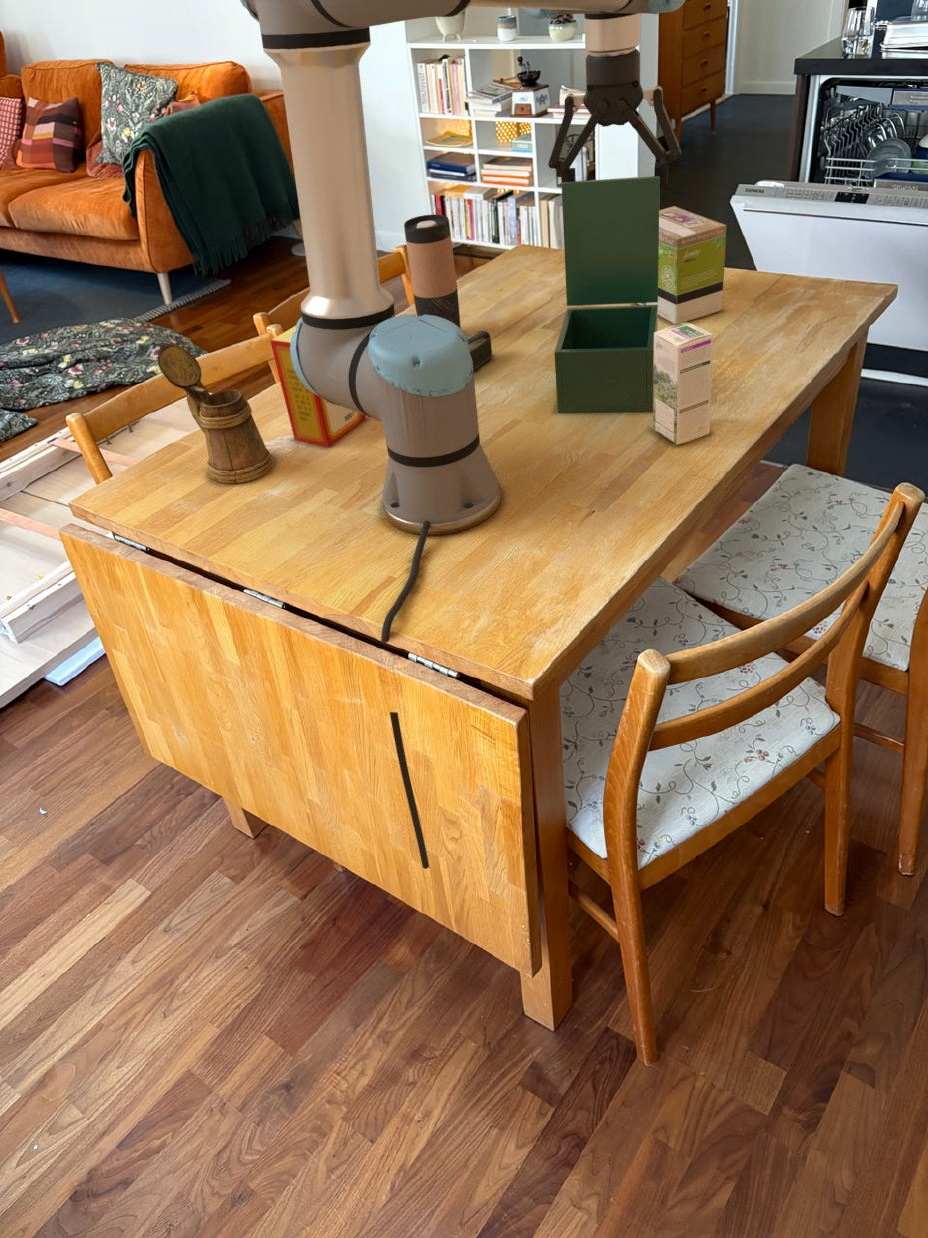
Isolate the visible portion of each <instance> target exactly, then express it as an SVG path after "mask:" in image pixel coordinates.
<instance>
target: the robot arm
mask: <svg viewBox="0 0 928 1238" xmlns="http://www.w3.org/2000/svg"><path fill="white" fill-rule="evenodd" d="M239 1H240V4H241V5H242V7H243V8H245V9H246V10H247V11H248V13H249V15H250V17H252V18H253V19H254V20H255V21H256V22H258V24H259V30H260V36H261V44H262V51H263V53H264V54H265V55H267V56H268V57H269V58H270V59H271V60H272V61H273V62H274V63H275V64H276V65H277V66H278V68H279V71H280V78H281V84H282V92H283V99H284V107H285V114H286V115H285V116H286V122H287V128H288V137H289V143H290V152H291V158H292V165H293V166H292V167H293V173H294V180H295V187H296V194H297V201H298V202H297V203H298V208H299V216H300V217H299V218H300V223H301V224H300V225H301V231H302V237H303V238H302V239H303V244H304V252H305V261H306V267H307V274H308V282H309V289H310V290H309V292H308V293H307V295H306V296H305V297H304V299H303V300H302V302H300V314H301V317H300V318H299V319H298V320H297V322H296V324H295V326H297V330H296V331H295V332H294V333H292V337H291V343H290V354H291V361H292V364H293V368H294V370H295V373H296V375H297V376H298V378H299V380H300V381H301V382H302V384H303V385H304V386H305V387H306V388H307V389H308V390H310V391H311V392H313V393H314V394H316V395H318V396H319V397H320V398H322V399H324V400H326V401H327V402H329V403H332V404H335V405H339V406H343V407H345V408H348V409H350V410H353V411H356V412H358V413H361V414H363V415H365V416H366V417H368V418H371V419H373V420H376V421H378V422H380V423H381V425H382V427H383V428H382V429H383V433H384V440H385V444H386V451H387V456H388V460H387V465H386V471H385V477H384V483H383V489H382V499H381V502H382V507H383V513H384V517H385V518H386V520H387V521H388V522H389V523H390V524H391V525H392V526H394V527H395V528H397V529H399V530H401V531H404V532H407V533H411V534H416V535H419V536H418V539H417V543H416V546H415V550H414V554H413V558H412V563H411V568H410V573H409V575H408V579H407V581H406V583H405V585H404V587H403V589H402V590H401V591H400V592H399V593H400V594H399V595H398V596H397V598H396V600H395V602H394V603H393V605H392V607H391V608H390V609H389V611H388V612H387V613H386V616H385V618H384V621H383V625H382V629H381V637H380V638H381V639H380V641H381V643H382V644H386V643H388V642H389V640H390V637H391V636H390V635H391V628H392V626H393V625H392V624H393V621H394V620H395V617H396V616H397V614H398V613H399V611H400V610H401V608H402V607H403V605H404V603H405V601H406V600H407V598H408V596H409V594H410V593H411V591H412V590H413V588H414V586H415V584H416V581H417V578H418V574H419V572H420V571H419V570H420V563H421V559H422V555H423V551H424V548H425V545H426V541H427V538H428V535H429V536H434V535H446V534H453V533H457V532H461V531H464V530H467V529H470V528H473V527H475V526H477V525H479V524H480V523H482V522H484V521H485V520H487V519H488V518H489V517H491V516H492V515H493V514H494V513H495V512H496V510H497V509H498V507H499V505H500V503H501V491H500V490H501V489H500V483H499V480H498V478H497V475H496V473H495V471H494V469H493V467H492V464H491V463H490V461H489V459H488V456H487V454H486V453H485V450H484V449H483V446H482V443H481V438H480V431H479V430H480V429H479V417H478V407H477V396H476V387H475V386H476V385H475V376H474V375H475V374H474V371H473V361H472V358H471V356H470V351H469V346H468V341H467V338H468V337H467V336H466V334H465V333H464V331H463V330H462V328H461V329H460V328H459V327H458V326H457V325H455V324H454V323H452V322H451V321H449V320H446V319H444V318H441V317H437V316H433V315H425V314H424V315H423V316H417V313H412V314H401V315H397V316H396V310H395V300H394V296H393V295H392V294H391V293H390V292H389V291H388V290H387V289H385V287H383V286H382V285H381V280H380V271H379V260H378V249H377V239H376V232H375V231H376V230H375V229H376V228H375V220H374V219H375V217H374V209H373V208H374V207H373V199H372V188H371V178H370V168H369V157H368V147H367V136H366V125H365V114H364V106H363V93H362V85H361V75H360V74H361V73H360V61H361V59H362V58H363V57H364V55H365V53H366V52H367V51H368V49H369V48H370V47H371V45H372V42H371V31H370V30H371V27H375V26H381V25H382V26H383V25H387V24H392V23H398V22H404V21H409V20H410V21H411V20H417V19H418V20H419V19H424V18H452V17H457V16H459V15H461V14H462V13H464V12H465V11H466V10H467V9H468V7H475V8H476V7H478V8H479V7H480V8H505V9H507V8H508V9H523V11H524V12H525V13H526V14H527V15H528V16H529V17H531V18H532V19H536V20H542V19H543V20H544V19H555V18H557V17H559V16H562V15H584V18H583V19H584V21H583V22H584V48H585V51H586V52H587V53H588V52H589V54H587V56H586V57H585V76H586V77H585V85H586V87H585V93H584V94H581V95H579V94H578V95H577V94H576V95H575V94H574V93H571V92H570V93H568V94H567V95H566V96H565V99H564V111H563V112H564V115H563V118H562V121H561V124H560V127H559V130H558V132H557V136H556V138H555V142H554V145H553V148H552V151H551V154H550V157H549V160H548V164H547V165H548V167H549V168H550V169H555V170H558V171H559V172H560V177H561V179H560V180H561V183H562V182H576V181H577V179H576V178H577V177H576V167H572V165H573V164H574V162H575V160H576V158H577V157H578V155H579V153H580V152H581V150H582V149H583V147H584V145H585V144H586V143H587V141H588V139H589V138H590V136H591V134H592V133H593V131H594V130H595V128H596V127H597V125H599V126H601V127H602V128H605V127H610V126H612V125H613V126H625V124H627V123H629V125H631V127H632V128H633V129H634V130H635V131H636V133H637V134H638V135H639V137H640V139H641V140H642V141H643V142H644V144H645V145H646V146H647V148H648V150H649V151H650V152H651V153H652V155H653V156H654V158H655V159H656V160H657V161H656V162H654V171H653V173H654V176H660V189H666V188H667V187H668V184H669V165H670V163H672V162H674V161H677V160H679V159H681V155H682V149H681V147H680V144H679V141H678V138H677V136H676V134H675V131H674V128H673V125H672V122H671V120H670V117H669V115H668V112H667V110H666V107H665V105H664V98H663V97H664V95H663V94H664V93H663V87H662V85H656V86H655V87H654V88H648V89H643V88H642V85H641V52H640V51H639V49H637V48H638V47H639V45H640V44H641V14H647V15H648V14H649V15H659V14H662V13H672V12H675V11H677V10H679V9H680V8H681V7H682V6H683V5H684V4H685V2H686V0H239ZM643 100H646V101H647V104H648V106H650V107H653V111H654V114H655V116H656V119H657V122H658V125H659V126H660V129H661V131H662V134H663V136H664V139H665V142H666V144H667V147H668V151H666V150H665V148H664V147H663V145H662V144H661V143H660V141H659V140H658V139H657V137H656V136H655V134H654V133H653V131H651V129H650V128H649V125H648V124H647V123H646V122H645V121H644V119H643V117H642V115H641V114H640V113H639V111H638V110H637V109H638V108H639V106H640V105H641V103H642V102H643ZM582 105H583V106H584V107H585V108H586V109H587V111H588V112H589V114H590V117H589V118H588V120H587V121H586V123H585V125H584V127H583V128H582V130H581V132H580V133H579V135H578V136H577V138H576V140H575V141H574V143H573V145H572V146H571V148H570V149H569V151H568V152H567V154H566V156H565V158H564V159H562V158H560V157H561V153H562V150H563V148H564V145H565V142H566V139H567V136H568V133H569V130H570V127H571V124H572V121H573V118H574V114H575V113H577V112H578V111H579V110H580V107H581V106H582ZM659 210H661V192H660V193H659ZM389 715H390V716H389V717H390V722H391V728H392V733H393V739H394V745H395V749H396V754H397V760H398V764H399V765H398V766H399V769H400V774H401V779H402V782H403V786H404V791H405V796H406V800H407V804H408V808H409V812H410V816H411V817H410V818H411V821H412V825H413V830H414V833H415V839H416V842H417V847H418V852H419V857H420V860H421V866H422V868H423V869H424V870H427V869H429V868H430V863H429V858H428V854H427V848H426V844H425V840H424V834H423V830H422V825H421V820H420V816H419V813H418V812H419V811H418V807H417V803H416V799H415V798H416V797H415V794H414V790H413V786H412V781H411V776H410V771H409V768H408V762H407V757H406V752H405V748H404V741H403V736H402V730H401V724H400V718H399V712H397V711H395V712H393V711H389Z"/></svg>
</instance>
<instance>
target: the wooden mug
mask: <svg viewBox="0 0 928 1238" xmlns="http://www.w3.org/2000/svg"><path fill="white" fill-rule="evenodd" d="M157 365H158V368H159V370H160V371H161V373H162V375H163V376H164V377H165V378H166V380H167V381H168V383H170V384H171V385H173V386H174V387H176V388H178V389H182V390H183V391H185V393H186V402H187V406H188V409H189V412H190V413H191V415H192V417H193V419H194V421H195V422H196V424H197V426H198V427H199V428H200V430H201V432H203V434H204V435H205V436H204V437H205V442H206V443H205V444H206V448H207V455H208V460H207V461H206V462H207V467H208V468H207V469H208V473H209V476H210V477H211V478H212V479H213V480H214V481H216V482H219V483H221V484H241V483H245V482H249V481H252V480H256V479H258V478H259V477H262V476H263V475H265V474H266V473H268V472H269V471H270V470H271V469H272V467H273V465H274V460H273V459H274V458H273V456H272V455H271V452H270V451H269V449H268V448H267V447H266V444H265V442H264V440H263V438H262V436H261V433H260V431H259V428H258V426H257V424H256V422H255V419H254V416H253V415H252V411H253V410H252V407H251V405H250V403H249V401H248V399H246V398H245V396H244V394H243V392H242V391H241V390H239V389H236V388H227V389H223V390H219V391H216V392H213V393H211V394H210V393H209V390H208V389H207V388H206V386H204V384H203V383H202V381H201V379H202V368H201V366H200V364H199V362H198V360H197V359H196V358H195V356H194V355H193V354H192V353H191V352H190V351H188V350H187V348H184V347H182V346H180V345H178V344H173V343H164V342H161V344H160V347H159V351H158V354H157Z"/></svg>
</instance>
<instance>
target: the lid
mask: <svg viewBox="0 0 928 1238" xmlns="http://www.w3.org/2000/svg"><path fill="white" fill-rule="evenodd" d="M659 193H660V194H661V188H660V176H653V175H651V176H639V177H637V176H636V177H635V176H633V177H622V178H621V177H619V178H606V179H605V178H604V179H592V180H591V179H590V180H578V181H577V180H576V182H562V181H561V203H562V206H561V207H562V227H563V249H564V250H563V251H564V271H565V272H564V273H565V288H566V289H565V291H566V292H565V294H566V306H567V307H570V306H571V307H573V306H574V307H575V306H600V305H621V304H622V305H625V304H637V303H654V302H658V263H659Z"/></svg>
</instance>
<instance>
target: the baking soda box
mask: <svg viewBox="0 0 928 1238" xmlns="http://www.w3.org/2000/svg"><path fill="white" fill-rule="evenodd" d="M296 330H297V326H296V325H294V326H293V327H291V328H289V329H287V330H286V331H284V332H281V334H279V335H277V336H276V337H274V338H272V339H270V346H271V349H272V354H273V358H274V362H275V365H276V369H277V373H278V374H277V375H278V378H279V382H280V386H281V390H282V394H283V398H284V402H285V406H286V411H287V414H288V418H289V422H290V423H289V424H290V427H291V432H292V434H293V439H294V441H296V442H299V443H300V442H301V443H306V444H311V445H314V446H315V445H316V446H318V447H319V446H320V447H324V448H330V447H331V446H333V445H334V444H335V443H337V442H338V441H339V440H341V439H342V438H344V436H346V435H347V434H349V433H350V432H351V431H353V430H354V429H355V428H356V427H358V426H359V425H361V424H362V423H363V422H364V421H366V420H367V416H366V415H363V414H361V413H358V412H356V411H353V410H350V409H348V408H345V407H343V406H339V405H335V404H332V403H329V402H327V401H326V400H324V399H322V398H320V397H319V396H318V395H316V394H314V393H313V392H311V391H310V390H308V389H307V388H306V387H305V386H304V385H303V384H302V382H301V381H300V380H299V378H298V376H297V375H296V373H295V370H294V368H293V364H292V361H291V354H290V343H291V337H292V333H294V332H295V331H296Z"/></svg>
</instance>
